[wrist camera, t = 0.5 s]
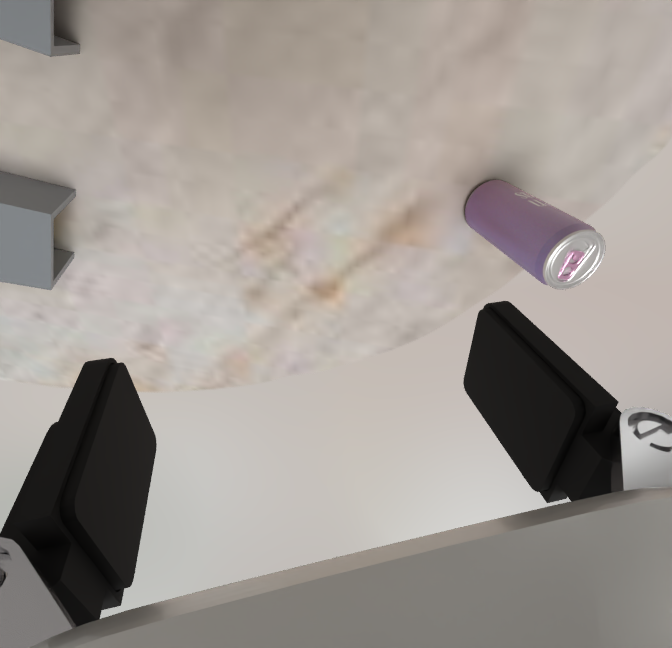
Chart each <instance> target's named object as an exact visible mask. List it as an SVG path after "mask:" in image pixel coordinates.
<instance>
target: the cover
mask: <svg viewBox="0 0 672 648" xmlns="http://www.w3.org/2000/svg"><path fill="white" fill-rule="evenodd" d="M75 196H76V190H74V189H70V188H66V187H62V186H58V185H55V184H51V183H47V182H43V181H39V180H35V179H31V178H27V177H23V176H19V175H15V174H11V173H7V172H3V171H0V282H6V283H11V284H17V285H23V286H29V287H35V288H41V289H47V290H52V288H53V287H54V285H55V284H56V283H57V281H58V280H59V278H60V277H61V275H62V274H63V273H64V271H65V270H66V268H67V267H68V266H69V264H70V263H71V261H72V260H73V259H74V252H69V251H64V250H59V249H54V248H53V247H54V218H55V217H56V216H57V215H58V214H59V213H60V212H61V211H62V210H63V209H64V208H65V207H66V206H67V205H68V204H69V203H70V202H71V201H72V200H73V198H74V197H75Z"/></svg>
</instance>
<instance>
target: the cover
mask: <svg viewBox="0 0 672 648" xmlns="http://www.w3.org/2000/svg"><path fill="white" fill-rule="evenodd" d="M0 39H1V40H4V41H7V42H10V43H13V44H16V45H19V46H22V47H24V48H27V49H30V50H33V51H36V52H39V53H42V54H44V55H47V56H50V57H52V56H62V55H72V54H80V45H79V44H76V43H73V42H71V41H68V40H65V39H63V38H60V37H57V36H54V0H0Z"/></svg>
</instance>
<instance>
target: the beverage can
mask: <svg viewBox="0 0 672 648" xmlns="http://www.w3.org/2000/svg"><path fill="white" fill-rule="evenodd" d="M465 217H466V221H467V223H468V225H469V226H470V227H471V228H472V229H474V230H475V231H476V232H477V233H479V234H480V235H481V236H483V237H484V238H485V239H486V240H488V241H489V242H490V243H491V244H493V245H494V246H495V247H497V248H498V249H499V250H500V251H502V252H503V253H504V254H506V255H507V256H508V257H509V258H511V259H512V260H513V261H515V262H516V263H517V264H518V265H520V266H521V267H522V268H523V269H525V270H526V271H527V272H529V273H530V274H531V275H532V276H534V277H535V278H536V279H538V280H539V281H540V282H541V283H543V284H545V285H549V286H550V287H552V288H555V289H560V290H563V289H569V288H572V287H575V286H577V285H579V284H581V283H582V282H583V281H585V280H587V279H588V278H589V277H590V276H591V275H592V274H593V273H594V272H595V271H596V269H597V268H598V267H599V265H600V263H601V262H602V260H603V257H604V254H605V248H606V245H605V240H604V238H603V237H602V235H601V234H599V233H598V232H596V230H595V229H594V228H593V227H592V226H590V225H588V224H586V223H584V222H582V221H580V220H579V219H577V218H575V217H573V216H571V215H569V214H567V213H565V212H563V211H561V210H559V209H557V208H555V207H553V206H552V205H550V204H548V203H546V202H544V201H542V200H540V199H538V198H536V197H534V196H532V195H530V194H528V193H526V192H524V191H523V190H521V189H519V188H517V187H515V186H513V185H511V184H509V183H507V182H505V181H502V180H492V181H488V182H486V183H484V184H482V185H480V186H479V187H478V188H476V189H475V190H474V191H473V193H472V194H471V195H470V197H469V199H468V201H467V204H466V208H465Z"/></svg>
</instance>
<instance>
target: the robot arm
mask: <svg viewBox="0 0 672 648" xmlns="http://www.w3.org/2000/svg"><path fill="white" fill-rule="evenodd" d="M464 388H465V391H466V392H467V394H468V396H469V397H470V399H471V400H472V402H473V403H474V405H475V406H476V407H477V409H478V410H479V412H480V413H481V414H482V416H483V418H484V419H485V421H486V422H487V424H488V425H489V426H490V428H491V429H492V431H493V432H494V434H495V435H496V437H497V438H498V440H499V441H500V443H501V444H502V446H503V447H504V448H505V450H506V451H507V453H508V454H509V456H510V457H511V459H512V460H513V462H514V463H515V465H516V466H517V467H518V469H519V470H520V472H521V473H522V475H523V476H524V478H525V479H526V481H527V482H528V484H529V485H530V486H531V488H532V489H533V490H535V491H537V492H540V493H541V495H542V496H543V498H544V499H545V501H546V502H547V503H550V502H554V501H558V500H562V499H566V498H567V496H568V497H569V499H570V500H571V501H572V502H567V503H563V504H558V505H554V506H549V507H545V508H541V509H537V510H532V511H528V512H524V513H520V514H516V515H511V516H507V517H503V518H498V519H494V520H490V521H486V522H482V523H477V524H473V525H469V526H464V527H460V528H456V529H452V530H448V531H444V532H440V533H435V534H432V535H427V536H423V537H419V538H415V539H410V540H406V541H402V542H398V543H394V544H390V545H386V546H382V547H377V548H373V549H369V550H365V551H361V552H357V553H353V554H349V555H345V556H340V557H336V558H332V559H328V560H324V561H320V562H316V563H312V564H308V565H303V566H300V567H295V568H292V569H288V570H283V571H279V572H275V573H271V574H267V575H263V576H259V577H255V578H251V579H247V580H243V581H239V582H235V583H231V584H227V585H223V586H219V587H215V588H211V589H207V590H203V591H199V592H195V593H192V594H188V595H184V596H180V597H176V598H173V599H169V600H165V601H161V602H158V603H154V604H150V605H146V606H142V607H139V608H135V609H131V610H128V611H124V612H121V613H118V614H115V615H112V616H109V617H105V618H102V619H100V614H101V610H104V609H108V608H112V607H117V606H120V605H121V602H122V597H123V592H124V588H128V587H130V586H131V585H132V582H133V578H134V573H135V568H136V562H137V556H138V550H139V545H140V539H141V533H142V528H143V522H144V516H145V511H146V505H147V499H148V493H149V487H150V482H151V476H152V471H153V465H154V459H155V453H156V437H155V434H154V431H153V429H152V427H151V424H150V422H149V420H148V417H147V415H146V413H145V410H144V408H143V406H142V403H141V401H140V398H139V396H138V394H137V391H136V389H135V387H134V384H133V382H132V380H131V377H130V375H129V372H128V370H127V368H126V366H125V364H124V363H117V362H116V360H115V359H114V358H108V359H101V360H94V361H87V362H85V364H84V365H83V367H82V370H81V372H80V374H79V376H78V379H77V381H76V383H75V385H74V387H73V390H72V392H71V394H70V396H69V399H68V401H67V403H66V405H65V408H64V410H63V412H62V415H61V417H60V419H59V421H58V422H56V423H54V424H53V425H52V426H51V427H50V428H49V430H48V432H47V434H46V436H45V438H44V440H43V443H42V445H41V447H40V449H39V451H38V454H37V455H36V457H35V460H34V462H33V464H32V466H31V468H30V471H29V473H28V475H27V477H26V479H25V481H24V484H23V486H22V488H21V490H20V492H19V494H18V496H17V499H16V501H15V503H14V505H13V507H12V509H11V511H10V514H9V516H8V518H7V520H6V522H5V524H4V527H3V529H2V531H1V533H0V648H672V417H671V416H670V415H668V414H666V413H663V412H660V411H658V410H655V409H650V408H645V407H633V408H629V409H626V410H625V411H624V412H623V413H621V412H620V411H619V410H618V409H617V408H616V406H617V404H618V401H617V400H616V399H615V398H614V397H613V396H611V395H610V394H609V393H608V392H607V391H606V390H605V389H604V388H603V387H602V386H601V385H600V384H598V383H597V382H596V381H595V380H594V379H593V378H591V376H590V375H589V374H588V373H586V372H585V371H584V370H583V369H582V368H581V367H580V366H579V365H578V364H577V363H576V362H575V361H573V360H572V359H571V358H570V357H569V356H568V355H567V354H566V353H565V352H564V351H562V350H561V349H560V348H559V347H558V346H557V345H556V344H555V343H554V342H553V341H552V340H551V339H550V338H548V337H547V336H546V335H545V334H544V333H543V332H542V331H541V330H540V329H539V328H537V327H536V326H535V325H534V324H533V323H532V322H531V321H530V320H529V319H528V318H527V317H525V316H524V315H523V314H522V313H521V312H520V311H519V310H518V309H517V308H516V307H515V306H514V305H512V304H511V303H510V302H508V301H502V302H495V303H488V304H486V305H485V306H484V308H483V309H482V310H480V311H479V313H478V317H477V321H476V326H475V330H474V335H473V340H472V345H471V349H470V353H469V358H468V362H467V367H466V372H465V376H464Z"/></svg>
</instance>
